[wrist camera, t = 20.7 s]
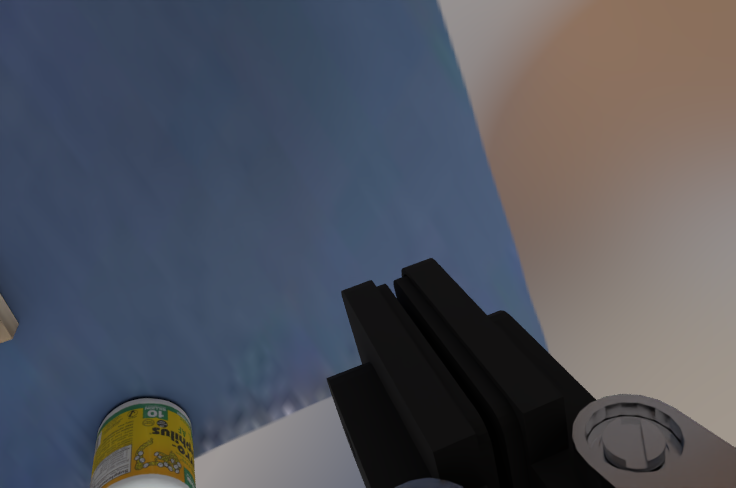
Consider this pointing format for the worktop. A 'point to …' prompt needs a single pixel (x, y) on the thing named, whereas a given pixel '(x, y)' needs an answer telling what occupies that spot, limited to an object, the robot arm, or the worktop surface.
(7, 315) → the shaft bracket
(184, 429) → the supplement bottle
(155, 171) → the worktop surface
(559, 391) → the robot arm
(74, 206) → the worktop surface
